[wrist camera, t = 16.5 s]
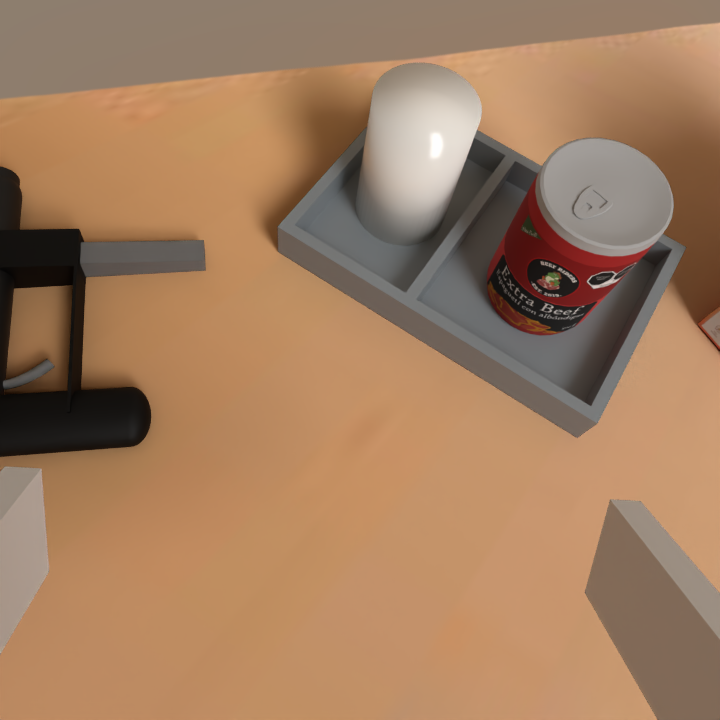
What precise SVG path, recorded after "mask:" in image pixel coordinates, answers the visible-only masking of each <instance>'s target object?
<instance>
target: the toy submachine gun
mask: <svg viewBox="0 0 720 720" xmlns="http://www.w3.org/2000/svg"><path fill="white" fill-rule="evenodd" d="M19 186H20V179H19V177H18V176H17V175H16V174H15V173H14V172H13V171H11V170H9V169H7V168H4V167H0V457H4V456H17V455H30V454H43V453H56V452H69V451H82V450H95V449H108V448H121V447H132V446H136V445H138V444H139V443H140V442H142V440H143V439H144V438H145V437H146V435H147V433H148V430H149V427H150V423H151V409H150V405H149V402H148V400H147V398H146V396H145V395H144V393H143V392H142V391H140V390H139V389H137V388H134V387H123V388H107V389H90V390H81V375H82V352H83V328H84V305H85V284H86V277H95V276H116V275H134V274H152V273H170V272H188V271H205V270H206V268H205V248H204V240H189V241H129V242H84V240H83V237H82V235H81V232H80V230H79V229H39V230H19V227H20V216H21V205H22V193H21V190H20V188H19ZM65 285H73V294H72V314H71V333H70V353H69V373H68V391H56V392H40V393H23V394H6V395H4V390H5V389H11V388H15V387H18V386H21V385H24V384H26V383H29V382H31V381H33V380H35V379H37V378H39V377H40V376H42V375H44V374H45V373H47V372H48V371H50V370H51V369H52V368H54V365H53V364H52V363H51V362H50V361H49V360H48V359H46V360H45V361H43V362H42V363H40V364H39V365H37V366H36V367H34V368H33V369H31V370H29V371H27V372H25V373H23V374H21V375H19V376H17V377H14V378H11V379H8V380H5V379H6V368H7V357H8V346H9V335H10V324H11V314H12V303H13V292H14V288H31V287H48V286H65Z"/></svg>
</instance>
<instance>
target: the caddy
mask: <svg viewBox="0 0 720 720" xmlns="http://www.w3.org/2000/svg"><path fill="white" fill-rule="evenodd" d="M366 132H367V127H366V128H365V129H364V130H363V131H362V133H361V134H360V135H359V136H358V137H357V138H356V139H355V140H354V141H353V143H352V144H351V145H350V146H349V147H348V148H347V149H346V150H345V152H344V153H343V154H342V155H341V156H340V157H339V158H338V159H337V161H336V162H335V163H334V164H333V165H332V166H331V167H330V168H329V170H328V171H327V172H326V173H325V174H324V175H323V176H322V177H321V179H320V180H319V181H318V182H317V183H316V184H315V185H314V186H313V187H312V189H311V190H310V191H309V192H308V193H307V194H306V195H305V196H304V198H303V199H302V200H301V201H300V202H299V203H298V204H297V205H296V207H295V208H294V209H293V210H292V211H291V212H290V213H289V214H288V216H287V217H286V218H285V219H284V220H283V221H282V222H281V223H280V225H279V226H278V252H279V253H281V254H283V255H284V256H286V257H287V258H289V259H291V260H292V261H294V262H295V263H297V264H299V265H300V266H302V267H303V268H305V269H307V270H308V271H310V272H311V273H313V274H315V275H316V276H318V277H319V278H321V279H323V280H324V281H326V282H328V283H329V284H331V285H332V286H334V287H336V288H337V289H339V290H340V291H342V292H344V293H345V294H347V295H348V296H350V297H352V298H353V299H355V300H356V301H358V302H360V303H361V304H363V305H364V306H366V307H368V308H369V309H371V310H373V311H374V312H376V313H377V314H379V315H381V316H382V317H384V318H385V319H387V320H389V321H390V322H392V323H393V324H395V325H397V326H398V327H400V328H401V329H403V330H405V331H406V332H408V333H409V334H411V335H413V336H414V337H416V338H418V339H419V340H421V341H422V342H424V343H426V344H427V345H429V346H430V347H432V348H434V349H435V350H437V351H438V352H440V353H442V354H443V355H445V356H446V357H448V358H450V359H451V360H453V361H454V362H456V363H458V364H459V365H461V366H463V367H464V368H466V369H467V370H469V371H471V372H472V373H474V374H475V375H477V376H479V377H480V378H482V379H483V380H485V381H487V382H488V383H490V384H491V385H493V386H495V387H496V388H498V389H499V390H501V391H503V392H504V393H506V394H508V395H509V396H511V397H512V398H514V399H516V400H517V401H519V402H520V403H522V404H524V405H525V406H527V407H528V408H530V409H532V410H533V411H535V412H536V413H538V414H540V415H541V416H543V417H544V418H546V419H548V420H549V421H551V422H553V423H554V424H556V425H557V426H559V427H561V428H562V429H564V430H565V431H567V432H569V433H570V434H572V435H573V436H575V437H577V438H578V437H579V436H581V435H582V434H583V433H585V432H586V431H588V430H589V429H590V428H592V427H593V426H595V425H596V424H597V423H598V421H599V419H600V417H601V415H602V413H603V411H604V409H605V408H606V406H607V404H608V402H609V400H610V398H611V396H612V394H613V392H614V390H615V388H616V386H617V384H618V382H619V380H620V378H621V376H622V374H623V372H624V370H625V368H626V366H627V364H628V362H629V360H630V358H631V356H632V354H633V352H634V350H635V348H636V346H637V344H638V342H639V340H640V338H641V336H642V334H643V332H644V330H645V328H646V326H647V324H648V322H649V320H650V318H651V316H652V314H653V312H654V310H655V309H656V307H657V305H658V303H659V301H660V299H661V297H662V295H663V293H664V291H665V289H666V287H667V285H668V283H669V281H670V279H671V277H672V275H673V273H674V271H675V269H676V267H677V265H678V263H679V261H680V259H681V257H682V255H683V253H684V251H685V249H686V247H685V246H683V245H682V244H680V243H678V242H676V241H674V240H673V239H671V238H669V237H667V236H666V235H664V234H662V235H661V237H660V238H659V239H658V240H657V241H656V243H655V244H654V245H653V246H652V247H651V248H650V249H649V250H648V252H647V253H646V254H645V255H644V256H643V257H642V258H641V259H640V260H639V261H638V263H637V264H636V265H635V266H634V267H633V268H632V269H631V270H630V271H629V272H628V273H627V274H626V275H625V276H624V277H623V279H622V280H621V281H620V282H619V283H618V284H617V285H616V286H615V287H614V288H613V289H612V290H611V291H610V292H609V293H608V295H607V296H606V297H605V298H604V299H603V300H602V301H601V302H600V303H599V304H598V305H597V306H596V307H595V308H594V309H593V311H592V312H591V313H590V314H589V315H588V316H587V317H586V318H585V319H584V320H583V321H582V322H581V323H579V324H578V325H577V326H575V327H573V328H571V329H569V330H567V331H564V332H561V333H558V334H553V335H541V336H540V335H533V334H529V333H526V332H523V331H520V330H518V329H516V328H514V327H512V326H511V325H509V324H508V323H507V322H506V321H504V320H503V319H502V318H501V317H500V316H499V314H498V313H497V312H496V311H495V309H494V307H493V306H492V304H491V301H490V299H489V296H488V291H487V272H488V268H489V265H490V262H491V260H492V258H493V256H494V254H495V252H496V251H497V249H498V247H499V245H500V243H501V241H502V239H503V237H504V235H505V234H506V232H507V230H508V228H509V226H510V224H511V222H512V220H513V218H514V217H515V215H516V213H517V211H518V209H519V207H520V205H521V203H522V201H523V200H524V198H525V196H526V194H527V192H528V190H529V188H530V186H531V184H532V183H533V181H534V179H535V178H536V176H537V174H538V172H539V170H540V169H541V167H542V166H540V165H539V164H537V163H535V162H533V161H531V160H530V159H528V158H526V157H524V156H523V155H521V154H519V153H517V152H515V151H514V150H512V149H510V148H508V147H506V146H505V145H503V144H501V143H499V142H498V141H496V140H494V139H492V138H490V137H489V136H487V135H485V134H483V133H481V132H480V131H478V130H477V131H476V134H475V136H474V139H473V142H472V144H471V147H470V150H469V153H468V155H467V158H466V161H465V163H464V166H463V169H462V172H461V174H460V177H459V180H458V182H457V185H456V188H455V191H454V193H453V196H452V199H451V201H450V204H449V207H448V210H447V212H446V215H445V218H444V220H443V223H442V225H441V227H440V229H439V230H438V232H437V233H436V234H435V235H434V236H433V237H431V238H430V239H428V240H427V241H424V242H422V243H419V244H415V245H408V246H400V245H393V244H389V243H386V242H384V241H381V240H379V239H377V238H376V237H374V236H373V235H371V234H370V233H369V232H368V231H367V230H366V229H365V228H364V227H363V225H362V224H361V222H360V220H359V218H358V216H357V213H356V197H357V190H358V184H359V177H360V171H361V164H362V158H363V151H364V145H365V139H366Z"/></svg>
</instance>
